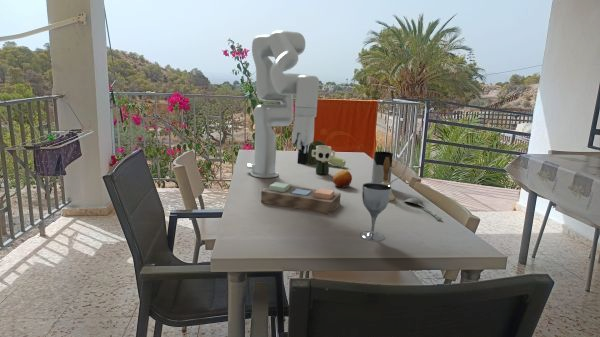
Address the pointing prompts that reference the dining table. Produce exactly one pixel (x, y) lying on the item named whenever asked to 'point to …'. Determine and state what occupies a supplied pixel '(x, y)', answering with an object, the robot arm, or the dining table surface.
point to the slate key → (301, 192)
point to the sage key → (279, 187)
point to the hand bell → (386, 169)
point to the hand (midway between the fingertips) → (302, 163)
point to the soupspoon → (419, 202)
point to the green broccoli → (311, 160)
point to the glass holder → (378, 167)
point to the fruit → (342, 178)
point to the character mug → (323, 158)
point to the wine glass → (375, 205)
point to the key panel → (301, 200)
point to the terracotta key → (324, 193)
